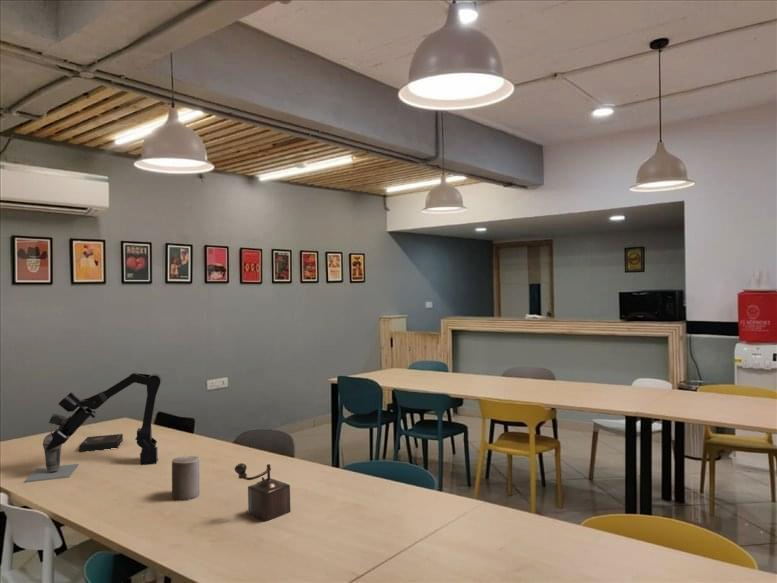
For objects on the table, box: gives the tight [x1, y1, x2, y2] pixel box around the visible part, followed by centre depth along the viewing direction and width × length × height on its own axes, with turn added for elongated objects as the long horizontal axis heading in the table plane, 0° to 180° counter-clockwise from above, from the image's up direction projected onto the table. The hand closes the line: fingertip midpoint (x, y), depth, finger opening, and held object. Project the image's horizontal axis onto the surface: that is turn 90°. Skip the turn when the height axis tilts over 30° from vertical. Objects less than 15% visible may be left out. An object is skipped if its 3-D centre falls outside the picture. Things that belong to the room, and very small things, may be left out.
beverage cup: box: [42, 423, 63, 472], centre depth 231 cm, size 7×7×20 cm
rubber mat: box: [24, 463, 79, 483], centre depth 231 cm, size 16×18×1 cm
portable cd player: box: [78, 433, 124, 453], centre depth 273 cm, size 16×17×4 cm
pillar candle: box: [171, 455, 201, 501], centre depth 200 cm, size 10×10×15 cm
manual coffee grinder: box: [234, 463, 291, 522], centre depth 181 cm, size 16×11×18 cm
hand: (49, 447), depth 231 cm, fingers closed on beverage cup, 7 cm apart
